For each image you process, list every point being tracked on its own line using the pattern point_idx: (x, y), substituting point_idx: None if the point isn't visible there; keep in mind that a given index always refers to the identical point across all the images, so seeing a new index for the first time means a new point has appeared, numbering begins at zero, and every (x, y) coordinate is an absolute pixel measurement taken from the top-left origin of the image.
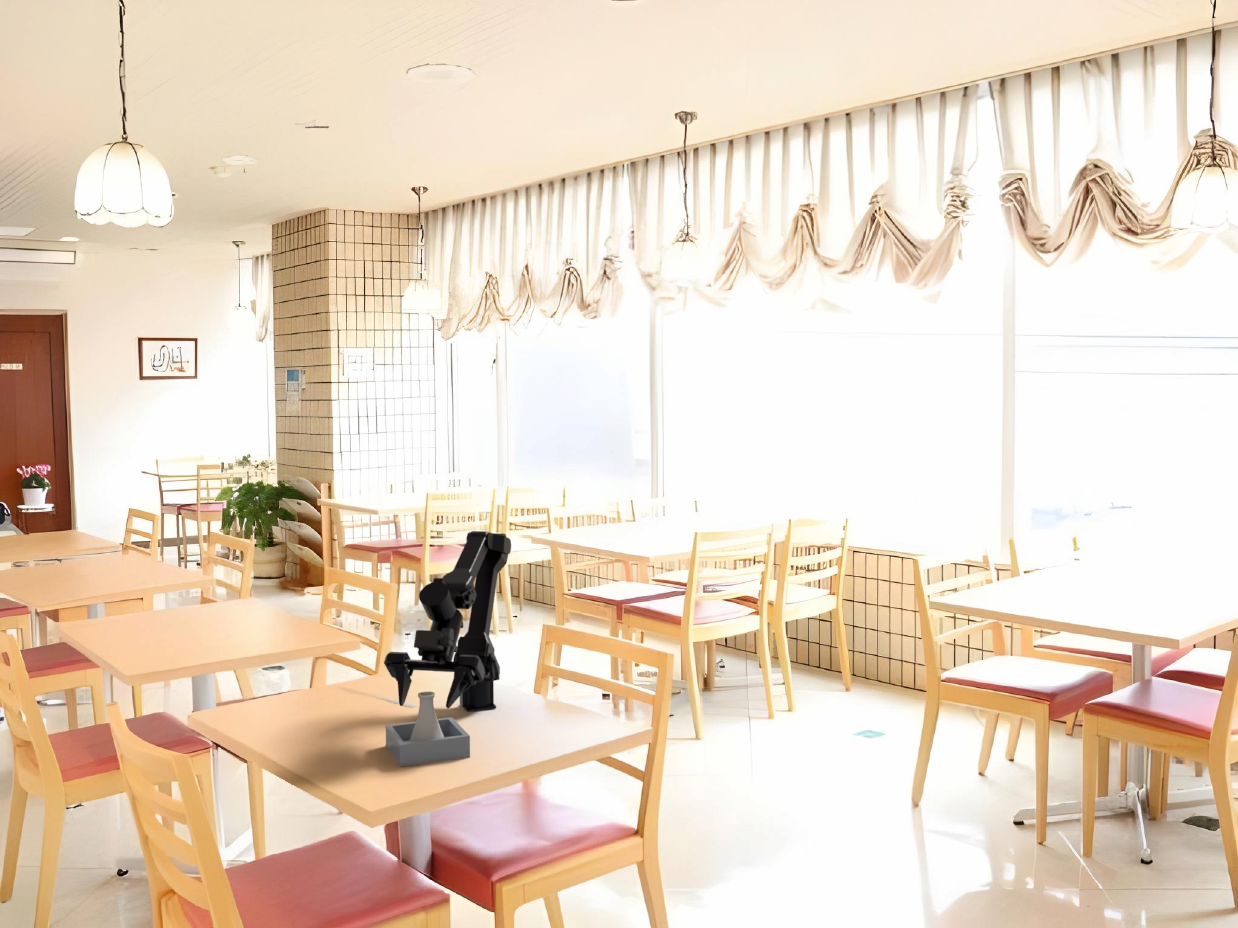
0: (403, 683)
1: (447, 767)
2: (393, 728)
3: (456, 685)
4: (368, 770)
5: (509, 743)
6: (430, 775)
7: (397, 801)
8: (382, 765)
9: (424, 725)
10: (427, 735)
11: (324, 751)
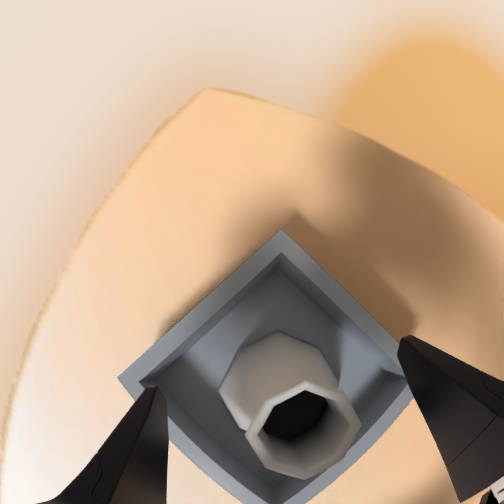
0: (471, 394)
1: (161, 287)
2: (395, 361)
3: (89, 469)
4: (329, 209)
5: None
6: (177, 228)
7: (183, 117)
8: (322, 247)
9: (272, 362)
10: (255, 356)
11: (472, 278)
